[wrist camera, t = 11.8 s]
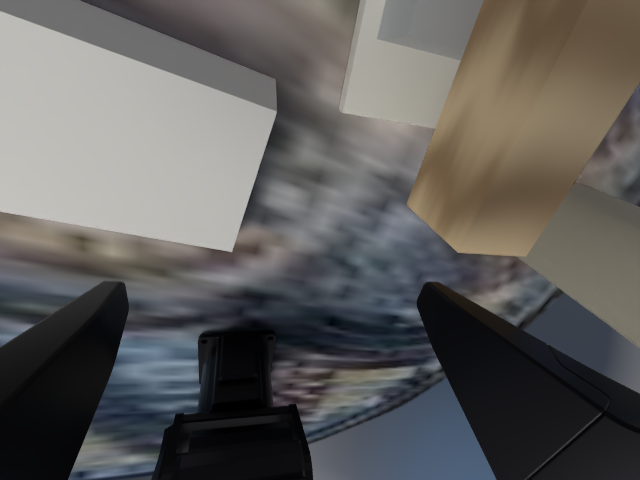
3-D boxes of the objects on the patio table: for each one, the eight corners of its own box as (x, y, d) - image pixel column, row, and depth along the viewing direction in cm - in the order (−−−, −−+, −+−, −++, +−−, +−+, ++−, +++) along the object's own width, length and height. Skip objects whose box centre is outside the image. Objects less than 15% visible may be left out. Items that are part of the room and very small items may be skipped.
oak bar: (620, -362, 9) (973, -750, 4) (701, -283, 10) (1039, -530, 6) (406, 205, 17) (458, 252, 13) (462, 211, 18) (525, 256, 14)
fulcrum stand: (495, 137, 21) (548, 155, 18) (338, 110, 18) (363, 125, 14) (579, -47, 16) (679, -76, 13) (386, -132, 13) (443, -205, 9)
